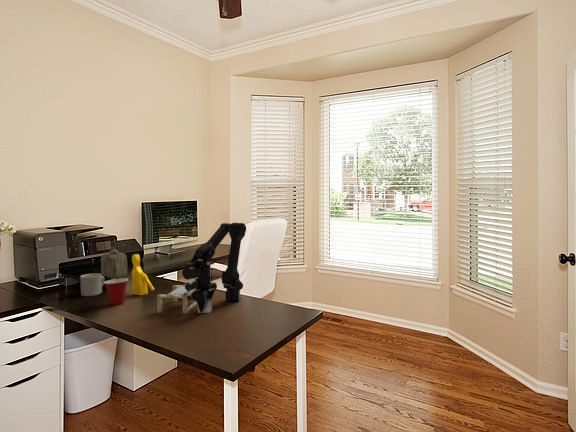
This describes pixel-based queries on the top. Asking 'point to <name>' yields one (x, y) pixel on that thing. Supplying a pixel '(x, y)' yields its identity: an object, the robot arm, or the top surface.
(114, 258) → the tabletop clock
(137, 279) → the figure statuette
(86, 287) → the coffee mug
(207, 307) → the steel cube
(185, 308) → the birch frame
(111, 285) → the plastic cup
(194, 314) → the top surface
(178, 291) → the flap
